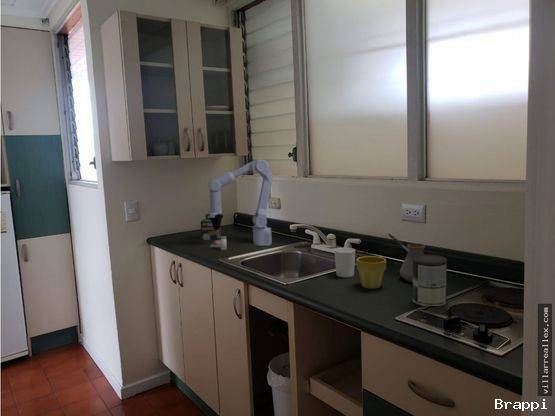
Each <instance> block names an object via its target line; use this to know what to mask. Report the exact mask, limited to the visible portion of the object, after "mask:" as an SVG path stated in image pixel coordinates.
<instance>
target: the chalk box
mask: <svg viewBox="0 0 555 416" xmlns="http://www.w3.org/2000/svg"><path fill="white" fill-rule="evenodd" d="M204 215H205V218H203V219H202V220H201V221H199V223H200V233H201V240H202V241H204V240H205V241H207V240H209V241H210V240H214V241H216V240H220V237H221V236H222V233H221V231H222V230H221V228H220V229H218V230H214V228H213V224H212V222H211V220H210V218H209V217H210V213H206V214H204Z"/></svg>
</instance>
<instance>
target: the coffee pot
mask: <svg viewBox="0 0 555 416" xmlns="http://www.w3.org/2000/svg"><path fill="white" fill-rule="evenodd" d="M388 236H389V237H388ZM385 237H386V238H387V239H389V238H390V239H392V240H393V241H394V242H395V243H396V244H397V245H399V246H400V247H402V248H403V249H404V250H405V251H406V252H407V254H406V257H405V259H404V261H403V262H402V265H401V267H400V270H399V274H400V276H401V277H402V278H403V279H404V280H405V281H407V282H409V283H413V257H414V256H417V255H425V252H424V249H425V248H426V245H425V244H421V243H411V244H410V243H409V244H407V245H406V246H405V245H403V243H402V242H401V241H400V240H399V239H398V238H396V237H395V236H394V235H392V234H391V233H388V234H387V235H386V236H385Z"/></svg>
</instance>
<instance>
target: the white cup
mask: <svg viewBox="0 0 555 416" xmlns="http://www.w3.org/2000/svg"><path fill="white" fill-rule="evenodd" d="M334 259H335V261H334V262H335V263H334V264H335V271H336V276H337V277H340V278H352V277H354V275H355V264H356V260H355V259H356V249H355V248H352V247H339V248H335V249H334Z"/></svg>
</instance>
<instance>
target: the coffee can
mask: <svg viewBox="0 0 555 416" xmlns="http://www.w3.org/2000/svg"><path fill="white" fill-rule="evenodd" d="M447 262H448V258H446V257H445V256H441V255H438V254H424V255H417V256H414V257H413V282H412V302H413V303H415V304H416V305H419V306H423V307H428V306H438V307H442V306H445V305H446V303H447V267H448V266H447Z"/></svg>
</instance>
